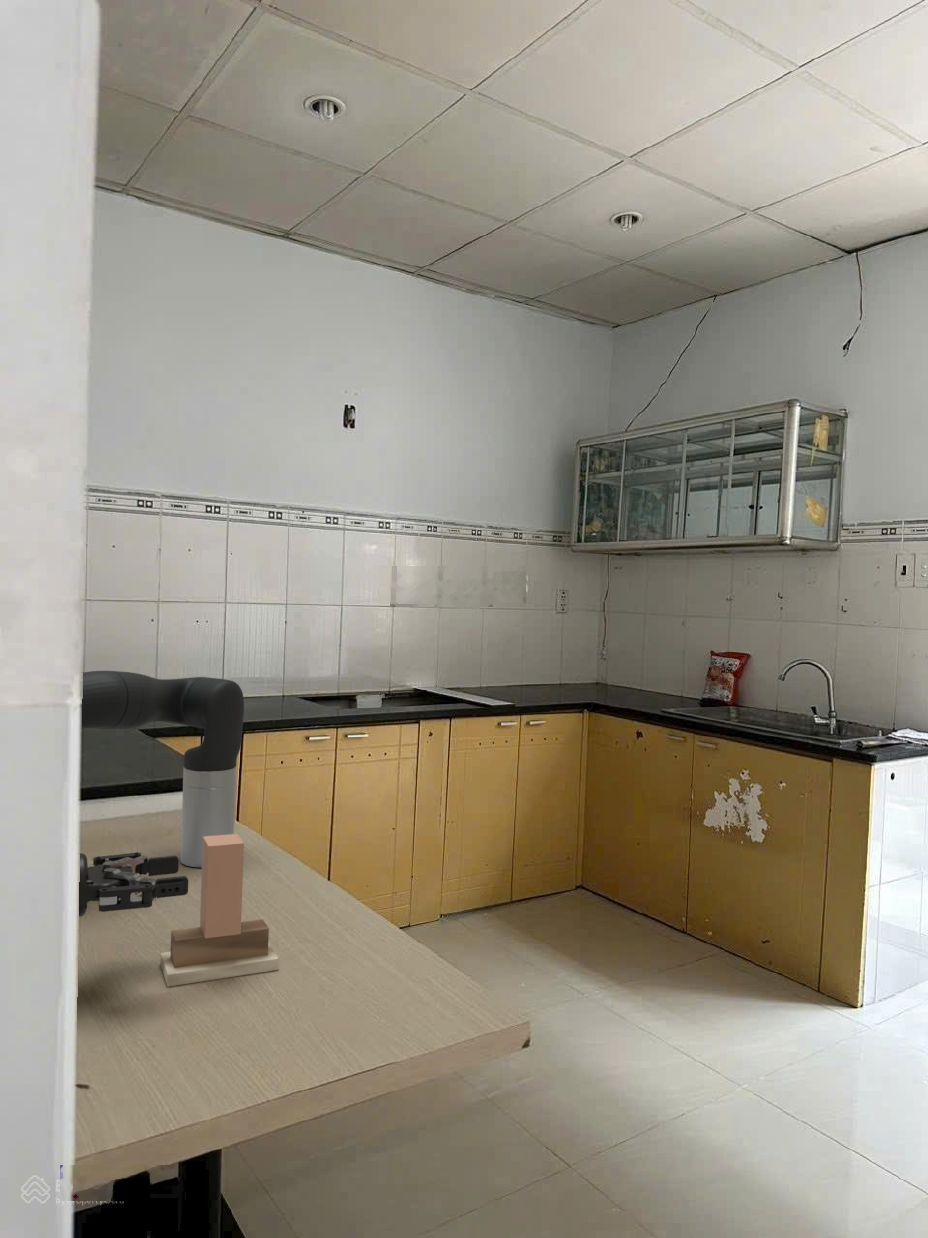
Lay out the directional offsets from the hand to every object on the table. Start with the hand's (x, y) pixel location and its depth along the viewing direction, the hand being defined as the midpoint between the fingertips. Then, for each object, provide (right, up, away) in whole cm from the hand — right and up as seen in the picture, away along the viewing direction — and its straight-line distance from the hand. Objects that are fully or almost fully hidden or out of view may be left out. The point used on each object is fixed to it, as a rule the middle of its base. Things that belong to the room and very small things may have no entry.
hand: (182, 874), depth 114 cm
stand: (+4, -13, +3) cm, 14 cm away
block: (+4, -8, +2) cm, 9 cm away
